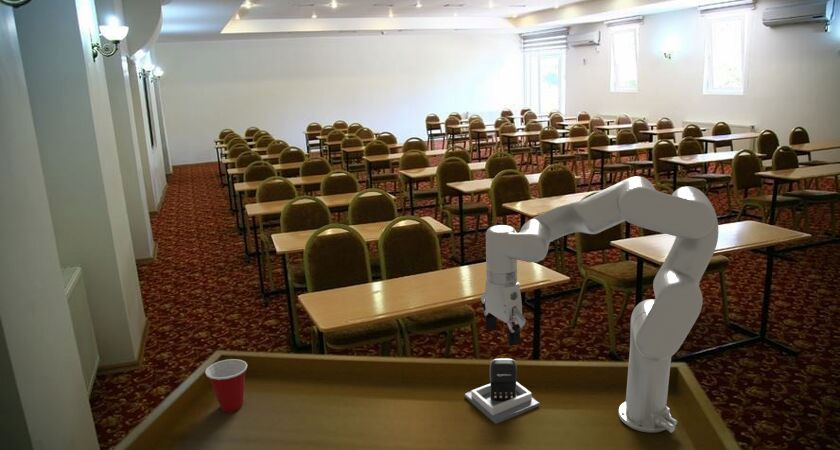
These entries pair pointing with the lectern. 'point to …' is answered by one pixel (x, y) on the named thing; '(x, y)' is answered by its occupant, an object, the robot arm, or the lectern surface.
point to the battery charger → (503, 379)
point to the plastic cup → (228, 383)
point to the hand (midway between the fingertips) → (502, 336)
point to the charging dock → (501, 403)
